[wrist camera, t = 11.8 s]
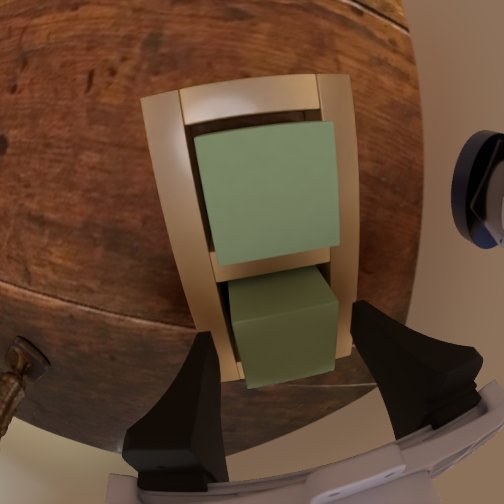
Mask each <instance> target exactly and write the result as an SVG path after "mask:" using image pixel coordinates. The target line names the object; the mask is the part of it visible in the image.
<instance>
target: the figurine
mask: <svg viewBox="0 0 504 504" xmlns="http://www.w3.org/2000/svg"><path fill="white" fill-rule="evenodd" d="M4 363H5V364H6V365H7V367H8V368H9V369H10V370H11V371H12V372H10V371H8V372H6V373H4V372H3V373H2V374H1V375H0V439H1V437H2V436H4V435H5V433H6V431H7V429H8V425H9V424H10V422H11V420H12V418H13V416H14V415H15V413H16V411H17V410H16V407H17V406H18V405H19V404H20V403H21V400H22V399H24V397H25V392H24V391H25V388H26V384H25V383H27V384H28V385H30V386H33V385H34V384H35V383H36V382H37V380H39V379H40V378H41V377H42V376H43V374H44V373H46V372H47V371H48V369H49V365H48V362H47V360H45V358H44V357H43V356H42V355H41V354H40V353H39V352H38V350H37V349H36V348H35V347H34V346H33V345H32V344H31V343H29V342H28V341H27V340H26V339H24V338H20V337H17V338H16V339H15V340H14V342H13V344H12V346H11V348H10V349H9V351H8V353H7V354H6V356H5V358H4Z"/></svg>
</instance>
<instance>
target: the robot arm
mask: <svg viewBox="0 0 504 504" xmlns="http://www.w3.org/2000/svg"><path fill="white" fill-rule="evenodd" d="M470 208H471V210H472V211H473V212H474V213H475V215H476V216H477V217H478V218H479V220H480V221H481V222H482V224H483V225H484V226H485V228H486V229H487V230H488V232H489V233H490V234H491V236H492V237H493V239H494V240H495V241H496V243H497V244H498V246H499V247H500V248H504V142H503V141H502V140H498V141H497V144H496V146H495V149H494V152H493V154H492V157H491V159H490V162H489V164H488V166H487V169H486V171H485V173H484V176H483V178H482V180H481V182H480V184H479V187H478V189H477V191H476V193H475V195H474V197H473V199H472V201H471V204H470ZM350 334H351V336H352V339H353V341H354V344H355V346H356V348H357V350H358V352H359V353H360V355H361V357H362V359H363V360H364V362H365V364H366V365H367V367H368V369H369V371H370V372H371V374H372V376H373V378H374V379H375V381H376V383H377V385H378V388H379V390H380V392H381V395H382V398H383V400H384V403H385V405H386V408H387V411H388V414H389V417H390V421H391V424H392V427H393V430H394V435H395V438H396V441H394V442H391V443H389V444H386V445H384V446H381V447H379V448H376V449H373V450H371V451H368V452H365V453H362V454H360V455H356V456H353V457H350V458H347V459H344V460H341V461H337V462H334V463H330V464H327V465H323V466H320V467H316V468H312V469H307V470H303V471H299V472H294V473H289V474H284V475H278V476H272V477H267V478H259V479H252V480H244V481H235V482H229V477H228V471H227V466H226V459H225V452H224V445H223V437H222V428H221V416H220V404H221V372H220V362H219V357H218V354H217V350H216V347H215V344H214V341H213V337H212V334H211V331H204V332H198V333H197V335H196V337H195V340H194V343H193V345H192V347H191V350H190V352H189V354H188V356H187V358H186V360H185V362H184V364H183V366H182V368H181V369H180V371H179V373H178V375H177V376H176V378H175V380H174V381H173V383H172V384H171V386H170V387H169V388H168V390H167V391H166V392H165V394H164V395H163V396H162V397H161V399H160V400H159V401H158V402H157V403H156V405H155V406H154V407H153V408H152V409H151V410H150V411H149V412H148V413H147V414H146V415H145V416H144V417H142V418H141V419H140V420H139V421H138V422H136V423H135V424H134V425H133V426H131V427H130V428H129V429H127V432H126V435H125V438H124V443H123V449H122V457H123V459H124V460H125V461H126V462H127V463H128V464H129V465H130V466H132V467H133V468H134V469H135V470H136V471H138V478H136V477H133V476H128V475H119V474H109V478H108V485H107V493H106V501H105V504H443V503H442V501H441V498H440V496H439V494H438V492H437V489H436V487H435V485H434V483H433V481H432V479H434V478H435V477H437V476H439V475H440V474H442V473H444V472H445V471H447V470H448V469H450V468H451V467H453V466H454V465H456V464H457V463H459V462H460V461H461V460H463V459H464V458H466V457H467V456H468V455H470V454H471V453H473V452H474V451H476V450H477V449H478V448H479V447H481V446H482V445H484V444H485V443H486V442H487V441H489V440H490V439H491V438H492V437H494V436H495V435H496V434H497V433H498V432H499V431H500V430H501V429H502V428H503V427H504V390H503V389H502V387H501V386H500V385H499V383H498V382H497V381H496V380H493V381H492V382H490V383H489V384H487V385H486V386H484V387H483V388H482V389H481V390H479V392H477V391H476V389H475V388H476V387H477V385H476V383H475V382H474V380H475V378H476V376H477V374H478V373H479V371H480V369H481V367H482V364H483V357H482V356H481V355H480V354H479V353H478V352H477V351H476V349H475V348H474V347H469V346H461V345H456V344H452V343H447V342H443V341H440V340H437V339H434V338H431V337H428V336H426V335H423V334H421V333H419V332H416V331H414V330H412V329H409V328H408V327H406V326H404V325H403V324H401V323H399V322H397V321H396V320H394V319H392V318H391V317H389V316H387V315H386V314H384V313H383V312H381V311H380V310H378V309H377V308H375V307H374V306H372V305H370V304H369V303H367V302H366V301H364V300H361V301H357V302H353V303H352V315H351V326H350Z"/></svg>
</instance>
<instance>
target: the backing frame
mask: <svg viewBox="0 0 504 504" xmlns="http://www.w3.org/2000/svg"><path fill="white" fill-rule="evenodd" d="M141 106H142V113H143V119H144V125H145V130H146V136H147V141H148V146H149V152H150V157H151V162H152V167H153V171H154V176H155V181H156V185H157V190H158V194H159V198H160V203H161V207H162V211H163V215H164V219H165V223H166V227H167V231H168V235H169V239H170V243H171V246H172V250H173V254H174V258H175V261H176V265H177V268H178V272H179V275H180V279H181V282H182V285H183V289H184V292H185V295H186V299H187V302H188V305H189V308H190V311H191V315H192V318H193V321H194V324H195V327H196V330H197V333H198V332H204V331H211V334H212V337H213V341H214V344H215V347H216V350H217V354H218V357H219V362H220V372H221V382H225V381H232V380H239V379H240V378H241V379H244V378H245V376H244V372H243V368H242V364H241V360H240V356H239V352H238V348H237V344H236V340H235V336H234V337H233V334H232V329H231V325H230V321H229V317H228V313H227V308H226V304H225V300H224V295H223V291H222V287H221V282H222V281H228V280H234V279H239V278H245V277H251V276H256V275H262V274H267V273H273V272H278V271H284V270H289V269H294V268H300V267H305V266H310V265H315V264H316V267H317V268H318V270H319V271H320V273H321V275H322V276H323V278H324V279H325V281H326V282H327V284H328V285H329V287H330V288H331V290H332V291H333V293H334V295H335V296H336V298H337V299H338V301H339V311H338V329H337V344H336V357H335V359H337V358H341V357H344V356H348V355H350V354H351V346H352V336H351V334H350V326H351V315H352V303H353V302H356V296H357V282H358V262H359V217H360V216H359V171H358V152H357V138H356V126H355V115H354V106H353V97H352V89H351V82H350V76H349V75H348V74H289V75H273V76H261V77H251V78H242V79H234V80H227V81H220V82H213V83H207V84H202V85H196V86H191V87H186V88H181V89H179V90H178V89H176V90H172V91H168V92H163V93H159V94H155V95H151V96H148V97H144V98H141ZM299 111H304V115H305V121H333V124H334V134H335V146H336V158H337V173H338V192H339V220H340V245H337V246H332V247H326V248H321V249H315V250H310V251H304V252H299V253H293V254H288V255H282V256H277V257H271V258H265V259H260V260H254V261H248V262H243V263H237V264H231V265H226V266H219V265H218V262H217V257H216V252H215V247H214V243H213V238H212V233H211V234H210V231H209V226H208V221H207V216H206V211H205V206H204V201H203V196H202V191H201V185H200V180H199V175H198V169H197V164H196V158H195V153H194V147H193V141H192V135H191V129H190V126H194V125H199V124H205V123H210V122H216V121H222V120H228V119H235V118H242V117H249V116H257V115H266V114H276V113H286V112H299Z"/></svg>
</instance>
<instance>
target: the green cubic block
mask: <svg viewBox="0 0 504 504" xmlns="http://www.w3.org/2000/svg"><path fill="white" fill-rule="evenodd" d="M194 143H195V149H196V154H197V160H198V165H199V171H200V176H201V182H202V187H203V192H204V198H205V203H206V208H207V213H208V218H209V223H210V228H211V233H212V238H213V243H214V247H215V252H216V257H217V262H218V265H219V266H226V265H231V264H237V263H243V262H248V261H254V260H260V259H265V258H271V257H277V256H282V255H288V254H293V253H299V252H304V251H310V250H315V249H321V248H326V247H332V246H337V245H340V220H339V192H338V173H337V158H336V146H335V134H334V124H333V121H297V122H284V123H274V124H265V125H257V126H249V127H242V128H235V129H229V130H223V131H217V132H211V133H205V134H202V135H199V136H197V137H195V138H194Z"/></svg>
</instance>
